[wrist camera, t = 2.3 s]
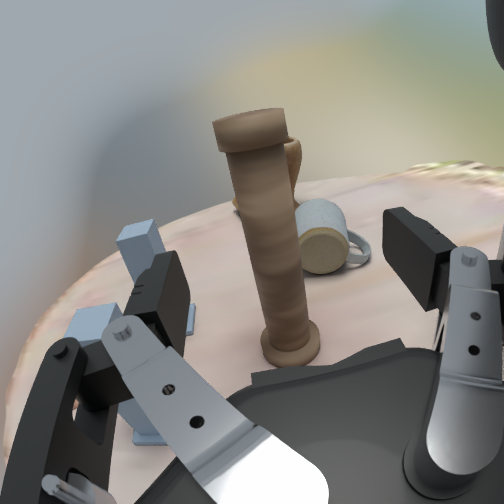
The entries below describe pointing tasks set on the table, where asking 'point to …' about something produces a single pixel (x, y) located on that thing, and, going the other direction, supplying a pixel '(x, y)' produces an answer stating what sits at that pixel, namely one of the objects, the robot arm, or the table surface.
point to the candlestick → (270, 231)
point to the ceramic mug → (326, 237)
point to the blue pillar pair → (98, 317)
